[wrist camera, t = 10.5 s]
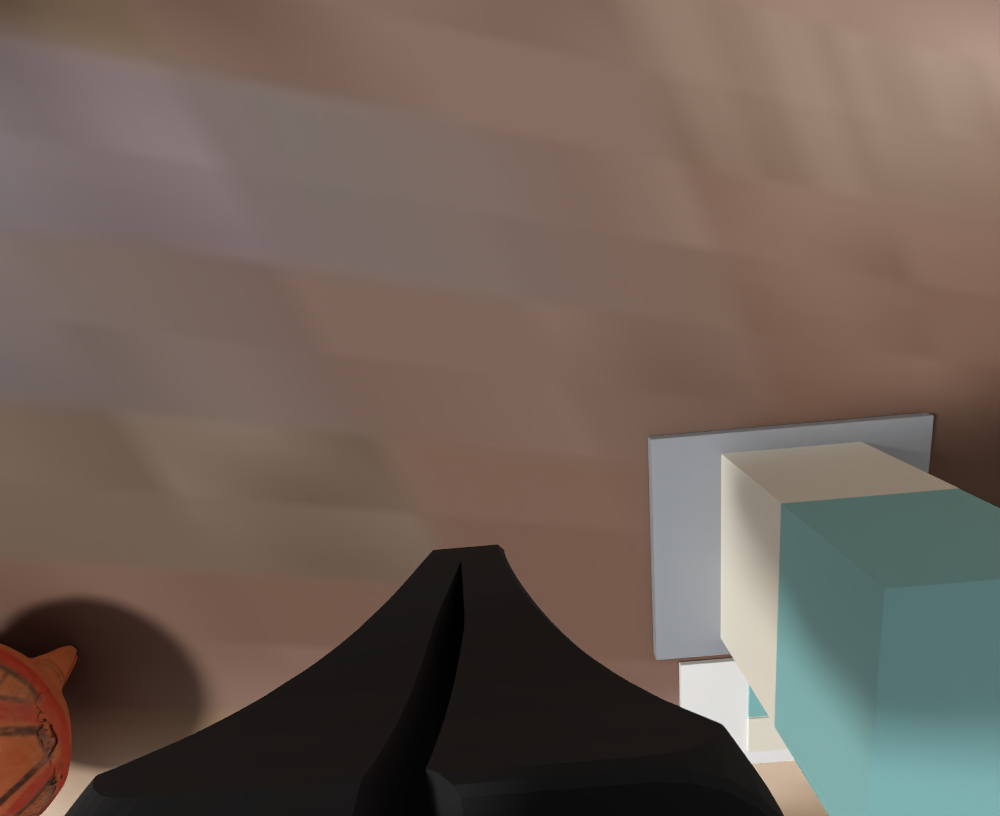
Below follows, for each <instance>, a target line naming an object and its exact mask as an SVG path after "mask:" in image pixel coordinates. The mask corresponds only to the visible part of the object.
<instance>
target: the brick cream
mask: <svg viewBox="0 0 1000 816" xmlns="http://www.w3.org/2000/svg"><path fill="white" fill-rule="evenodd" d="M946 489H958V488H957V487H955V486H953V485H951V484H949V483H947V482H945V481H943V480H941V479H939V478H937V477H934V476H932V475H930V474H928V473H926V472H924V471H922V470H920V469H918V468H916V467H913V466H911V465H909V464H907V463H905V462H903V461H901V460H899V459H897V458H895V457H893V456H890V455H888V454H886V453H884V452H882V451H880V450H878V449H876V448H874V447H872V446H869V445H867V444H865V443H863V442H852V443H841V444H829V445H817V446H806V447H794V448H782V449H771V450H759V451H747V452H736V453H724V454H721V639H722V641H723V643H724V644H725V646H726V648H727V649H728V651H729V652H730V654H731V656H732V657H733V659H734V661H735V662H736V664H737V665H738V667H739V669H740V670H741V672H742V674H743V675H744V677H745V678H746V680H747V682H748V683H749V685H750V687H751V688H752V690H753V692H754V693H755V695H756V696H757V698H758V700H759V701H760V703H761V705H762V706H763V708H764V709H765V711H766V713H767V714H768V716H769V718H770V719H771V721H772V722H773V724H775V690H776V656H777V622H778V589H779V555H780V521H781V503H793V502H805V501H817V500H828V499H840V498H852V497H864V496H875V495H887V494H899V493H911V492H923V491H934V490H946Z"/></svg>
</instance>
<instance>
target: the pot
mask: <svg viewBox="0 0 1000 816" xmlns="http://www.w3.org/2000/svg"><path fill="white" fill-rule="evenodd" d="M76 653H77V649H75V648H74V647H73V646H70V645H69V646H64V647H60V648H58V649H56V650H53V651H51V652H49V653H46V654H43V655H40V656H37V657H35V658H28V657H26V656H25V655H23V654H22V653H20V652H18V651H16V650H14V649H12V648H10V647H8V646H6V645H3V644H0V816H39V815H40V814H42V813H43V812H44V811H45V810H46V809H47V807H48V806H49V805H50V804H51V802H52V801H53V800H54V798H55V797H56V796H57V794H58V793H59V791H60V790H61V788H62V787H63V785H64V783H65V781H66V778H67V775H68V771H69V765H70V760H71V751H72V729H71V721H70V715H69V711H68V707H67V703H66V701H65V699H64V696H63V694H62V688H63V685H65V683H66V680H67V679H68V677H69V675H70V673H71V671H72V669H73V668H74V666H75V663H76V661H77V658H78V656H77V655H76Z"/></svg>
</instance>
